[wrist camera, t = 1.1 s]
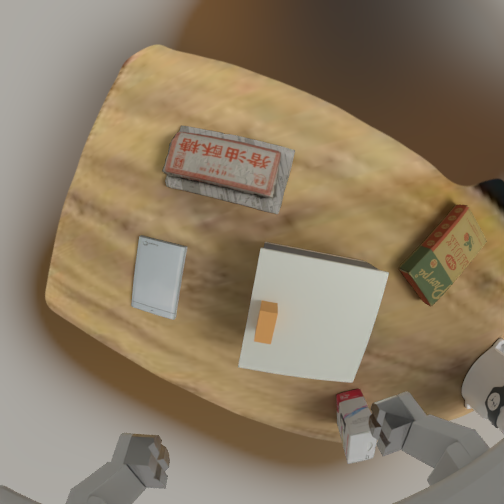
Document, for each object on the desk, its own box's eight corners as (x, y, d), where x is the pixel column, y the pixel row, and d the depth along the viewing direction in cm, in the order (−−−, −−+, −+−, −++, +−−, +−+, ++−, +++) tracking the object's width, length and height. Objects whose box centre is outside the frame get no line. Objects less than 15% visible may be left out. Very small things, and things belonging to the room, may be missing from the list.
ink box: (336, 392, 46) (348, 435, 35) (362, 387, 46) (379, 428, 34) (336, 423, 48) (345, 465, 36) (360, 418, 47) (373, 459, 36)
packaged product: (154, 185, 38) (172, 118, 36) (166, 186, 43) (183, 127, 41) (279, 216, 38) (298, 145, 36) (278, 214, 42) (295, 151, 41)
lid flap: (386, 271, 34) (399, 280, 30) (351, 379, 37) (357, 396, 33) (260, 247, 35) (258, 253, 31) (238, 364, 38) (234, 381, 33)
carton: (474, 238, 40) (488, 242, 36) (420, 300, 43) (432, 309, 39) (454, 203, 39) (468, 204, 35) (396, 267, 42) (407, 274, 38)
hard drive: (138, 235, 43) (130, 306, 45) (185, 247, 43) (173, 320, 45) (142, 234, 45) (134, 303, 47) (188, 245, 44) (176, 317, 47)
